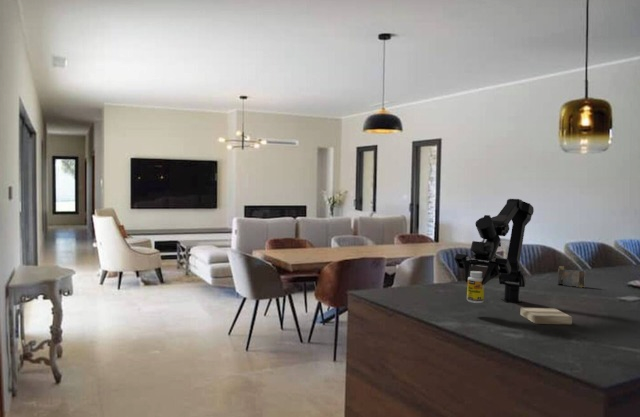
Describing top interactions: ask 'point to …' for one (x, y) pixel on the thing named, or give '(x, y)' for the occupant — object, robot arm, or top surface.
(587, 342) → the top surface
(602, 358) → the top surface
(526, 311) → the birch base
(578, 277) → the architectural model on board
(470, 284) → the supplement bottle
